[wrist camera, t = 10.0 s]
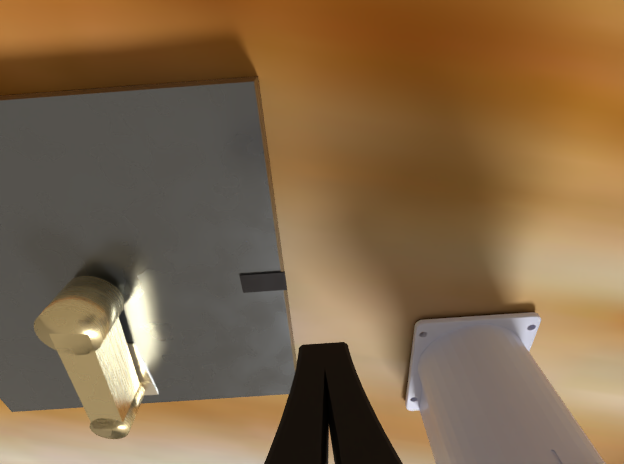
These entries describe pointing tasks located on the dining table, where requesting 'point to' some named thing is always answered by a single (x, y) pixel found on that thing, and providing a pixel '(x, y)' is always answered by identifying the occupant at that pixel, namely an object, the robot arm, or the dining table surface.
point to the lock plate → (145, 237)
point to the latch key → (94, 352)
